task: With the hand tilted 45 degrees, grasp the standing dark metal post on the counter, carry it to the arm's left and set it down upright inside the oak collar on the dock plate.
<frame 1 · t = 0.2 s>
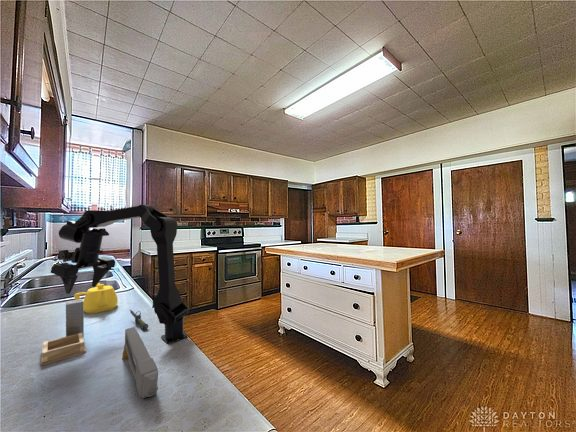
hand: (81, 289, 88), 15 cm above the countertop, tool pointing down, fingers open, 9 cm apart
knife: (137, 324, 96), on the countertop
teapot: (96, 309, 114), on the countertop
dock: (63, 352, 75), on the countertop
post: (74, 337, 86), on the countertop
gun: (137, 377, 63), on the countertop
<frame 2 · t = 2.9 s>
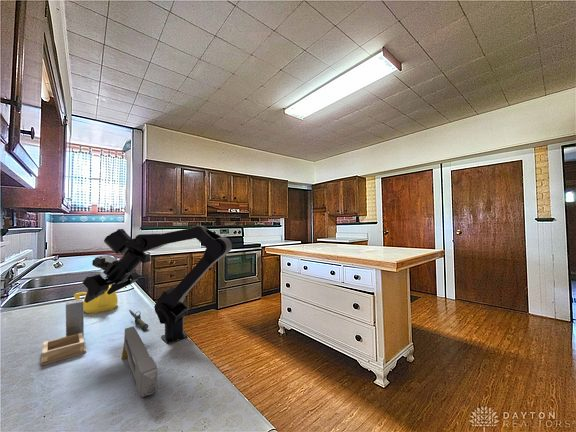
hand: (97, 297, 85), 13 cm above the countertop, tool tilted 45°, fingers open, 9 cm apart
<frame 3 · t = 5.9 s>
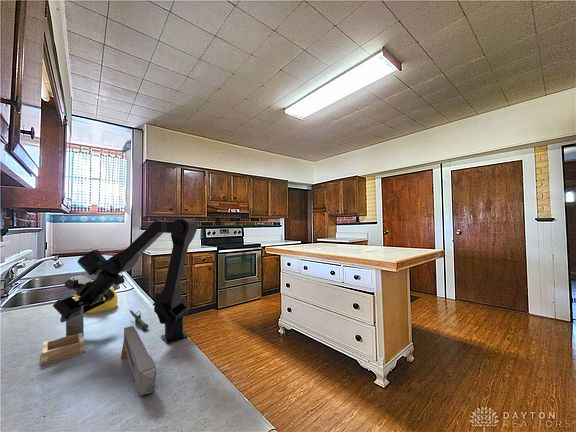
hand: (70, 317, 86), 7 cm above the countertop, tool tilted 45°, fingers closed on post, 6 cm apart
post: (74, 337, 86), on the countertop, touching gripper
when the fingers open (8 cm above the countertop, at t = 9.6 s): post drops 1 cm, resting on dock.
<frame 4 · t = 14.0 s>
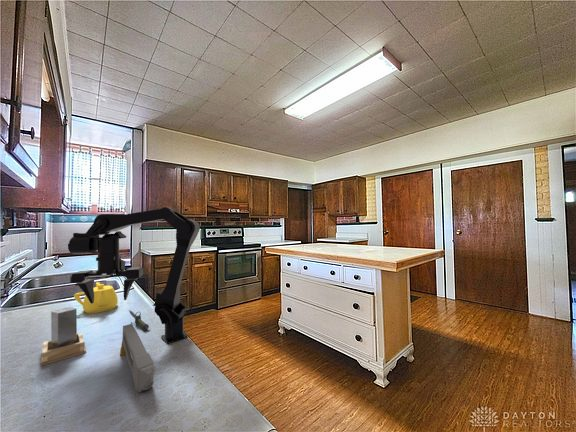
hand: (109, 301, 82), 13 cm above the countertop, tool pointing down, fingers open, 9 cm apart
post: (64, 350, 75), point 1 cm above the countertop, touching dock
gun: (134, 372, 65), on the countertop
everything else where it was.
at the end: post 0.1 cm off-centre on the dock, point 0.6 cm above the dock's base; post tilted 0°; the gripper is holding nothing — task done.
